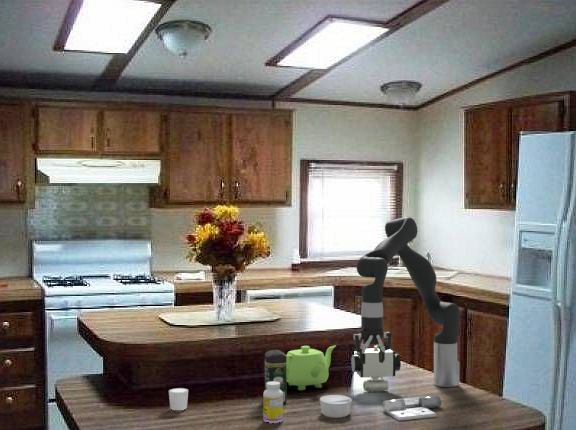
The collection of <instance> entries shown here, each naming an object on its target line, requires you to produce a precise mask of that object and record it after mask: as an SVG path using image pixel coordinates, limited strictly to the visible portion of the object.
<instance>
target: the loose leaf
mask: <svg viewBox="0 0 576 430" xmlns="http://www.w3.org/2000/svg"><path fill="white" fill-rule="evenodd" d="M395 399H396V400H392V399H389V400H388V399H386V400H383V401H382V410H383V411H384V413H386V414H387V415H389V416H391V417H392V418H394V419H395V420H397V421H398V422H401V421H407V420H408V421H409V420H418V419H428V418H429V419H430V418H436V417H437V415H436V412H434V411H432V410H431V409H430V408H425V407H413V408H405V407H406V405H405V401H404V400H403V399H402V398H395Z"/></svg>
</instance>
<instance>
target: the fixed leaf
mask: <svg viewBox="0 0 576 430" xmlns="http://www.w3.org/2000/svg"><path fill="white" fill-rule="evenodd" d="M396 399H397V398H395V399H394V398H393V399H391V400H396ZM401 399H403V400H404V401H405V405H406V407H405V409H409V408H419V407H425V408H427V409H434V408H435V409H436V408H441V407H442V399H441V397H440V396H439V395H433V396H432V395H431V396H415V397H414V396H413V397H405V398H404V397H403V398H401Z"/></svg>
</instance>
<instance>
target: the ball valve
mask: <svg viewBox="0 0 576 430" xmlns="http://www.w3.org/2000/svg"><path fill="white" fill-rule="evenodd" d="M379 351H380V350H379V348H378V346H377V345H373V348H367V349H366V351H365V364H362V363H361V362H360V353H359V352H357V351H356V352H355V354H352V355H351V370H352V372H353V373H356V374H357V375H358V376H359V377H360V378H369V379H367V380H363V383H362V387H363V391H364V392H368V393H375V392H376V393H377V392H378V393H382V392H386V391H388V390H389V381H388V380H386V379H384V378H386V377H387V378H389V377H393V378H394V377H396V373H397V372H399V371H400V370H401V367H402V366H401V365H402V364H401V363H402V362H401V356H400V354H399V352H398V353H397V352H396V351H395V350H393V349H392V348H391V347H390V349H389V350H386V351H385V360H384V361H383V363H380V362H379Z"/></svg>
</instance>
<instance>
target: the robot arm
mask: <svg viewBox="0 0 576 430" xmlns="http://www.w3.org/2000/svg"><path fill="white" fill-rule="evenodd" d="M384 230H385V234H386V237H387V238H385V239H384V240H382V241H380V243H378V244H377V245H376V246H375V248H374V249H372V250H371V251H369V252H367V253H365V254H364V255H362V256H361V257H360V258H359V260H357V264H356V271H357V273H358V275H359V276H360V277H363V278H373V279H374V281H373V283H368V284H365V285H363V286H362V288H361V307H360V308H361V311H360V313H361V315H360V316H361V317H360V319H361V320H360V324H361V326H360V327H361V328H360V329H361V331H360V333H353V334H352V343H353V350H354V351H355V352H356V353H357V352H359V353H360V362H361V363H362V364H365V351H366V349H369V346H371V345H375V346H378V349H379V350H380V351H379V362H380V363H383V361H384V360H385V351H386V350H389V349H390V348H391V342H392V333H391V332H389V331H384V306H383V305H384V304H383V290H384V285H385V280H386V277H387V273H388V269H389V267H388V264H389V263H390V262H391V261H392V259H394V258H395V256H396V255H397V254H398V256H399V258H400V260H401V261H402V263H403V266H404V267H405V268H406V271H407V272H408V274H409V276H410V278H411V280H412V282H413V284H414V285H415V287H416V289H417V291H418V293H419V295H420V297H421V299H422V301H423V303H424V306H425V308H426V310H427V313H428V315H429V318H430V319H431V321H432V322H433V323H435V324H436V325H441V326H442V331H441V332H438V333H435V334H434V336H433V384H434V385H435V386H436V387H439V388H440V387H443V388H454V387H457V386H460V361H459V360H458V339H459V336H460V323H461V311H460V308H459V306H458V305H457V304H456V303H454V302H448V301H447V302H446V301H442V300H441V299H440V297H439V296H438V293H437V291H436V286H437V274H436V272H435V269H434V268H433V266H432V264H431V262H430V260H428V259H427V258H426V257H425V256H423V255H422V254H420V253H418V252H417V251H415V250H414V249H413V248H412V247H410V246H409V243H411V242H412V241H413V240H415V239H416V238H417V236H418V225H417V223H416V221H415V220H414V218H412V217H408V216H405V217H400V218H396V219H393V220H392V219H391V220H389V221H387V222H386V223H385V225H384ZM361 339H362V341H361V343H360V340H361ZM382 339H384V341H382Z"/></svg>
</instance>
